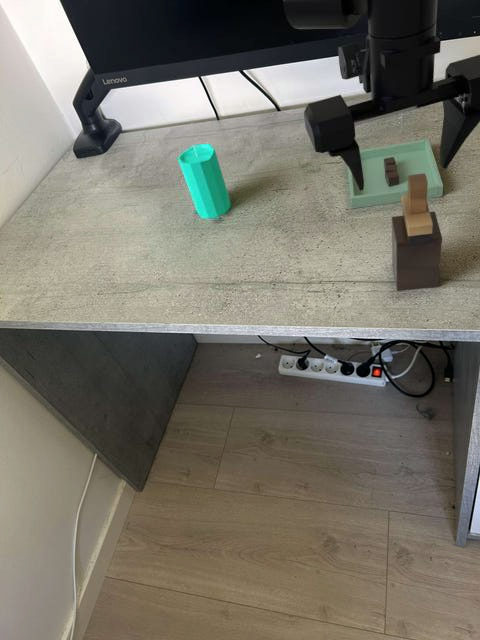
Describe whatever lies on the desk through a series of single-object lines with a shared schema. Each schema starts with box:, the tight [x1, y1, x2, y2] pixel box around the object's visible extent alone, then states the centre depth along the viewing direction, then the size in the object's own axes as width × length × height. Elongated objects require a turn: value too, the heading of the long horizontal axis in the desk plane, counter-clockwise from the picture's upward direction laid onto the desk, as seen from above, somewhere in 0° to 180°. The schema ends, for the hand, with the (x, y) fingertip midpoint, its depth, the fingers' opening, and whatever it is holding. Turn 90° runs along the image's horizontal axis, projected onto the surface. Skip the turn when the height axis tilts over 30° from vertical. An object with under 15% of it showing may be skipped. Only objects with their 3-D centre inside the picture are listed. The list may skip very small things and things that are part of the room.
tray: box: [346, 138, 444, 210], centre depth 77 cm, size 13×13×2 cm
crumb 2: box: [385, 164, 397, 179], centre depth 77 cm, size 2×2×2 cm
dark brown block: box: [391, 211, 443, 292], centre depth 60 cm, size 5×5×8 cm
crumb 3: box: [386, 171, 399, 187], centre depth 76 cm, size 2×2×2 cm
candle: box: [177, 143, 232, 220], centre depth 80 cm, size 6×6×12 cm
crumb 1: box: [384, 157, 396, 169], centre depth 78 cm, size 2×2×2 cm
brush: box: [401, 173, 433, 244], centre depth 55 cm, size 6×3×7 cm, turn 175°
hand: (401, 177), depth 54 cm, fingers open, 9 cm apart
